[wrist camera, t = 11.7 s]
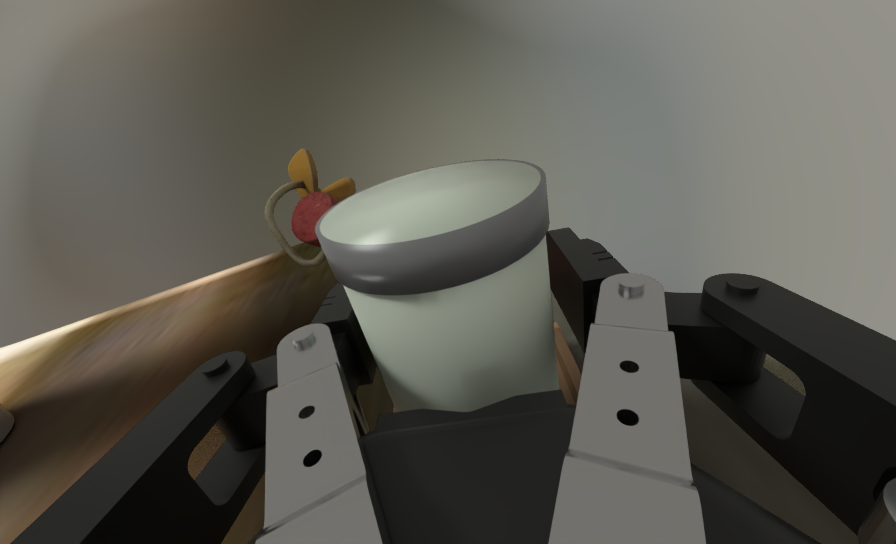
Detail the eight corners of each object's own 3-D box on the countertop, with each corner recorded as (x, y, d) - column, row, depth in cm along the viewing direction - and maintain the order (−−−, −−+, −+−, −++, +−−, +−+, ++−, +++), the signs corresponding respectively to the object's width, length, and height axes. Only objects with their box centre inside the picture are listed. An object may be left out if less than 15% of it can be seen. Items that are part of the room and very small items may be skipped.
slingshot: (453, 236, 38) (522, 232, 24) (414, 323, 38) (463, 371, 24) (301, 160, 33) (276, 99, 19) (254, 260, 33) (192, 273, 19)
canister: (427, 563, 11) (274, 270, 6) (432, 423, 16) (347, 186, 11) (592, 545, 11) (582, 208, 6) (549, 406, 15) (520, 148, 10)
